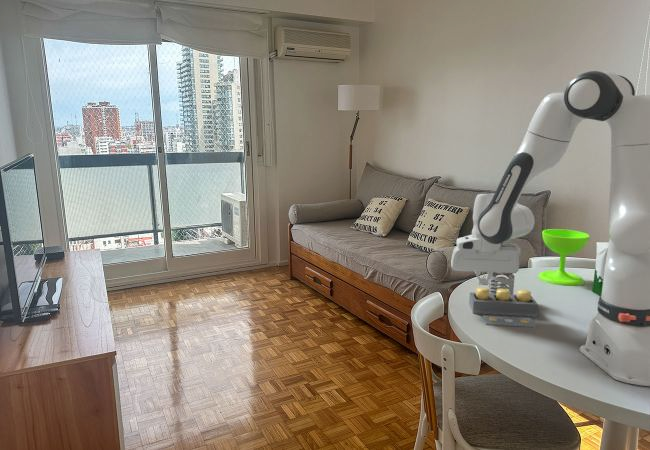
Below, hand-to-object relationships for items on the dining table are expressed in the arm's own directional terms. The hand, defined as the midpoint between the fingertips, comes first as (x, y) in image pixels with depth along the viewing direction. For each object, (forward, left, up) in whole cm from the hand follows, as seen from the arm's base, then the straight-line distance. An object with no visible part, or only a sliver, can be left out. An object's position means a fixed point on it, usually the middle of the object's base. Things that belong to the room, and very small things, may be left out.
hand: (482, 284), depth 144 cm
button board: (-4, -6, -8) cm, 11 cm away
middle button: (0, -6, -5) cm, 8 cm away
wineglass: (+36, -36, -9) cm, 51 cm away
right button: (0, -13, -5) cm, 13 cm away
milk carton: (+20, -46, -9) cm, 50 cm away
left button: (0, 0, -5) cm, 5 cm away
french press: (+12, -8, -9) cm, 16 cm away
